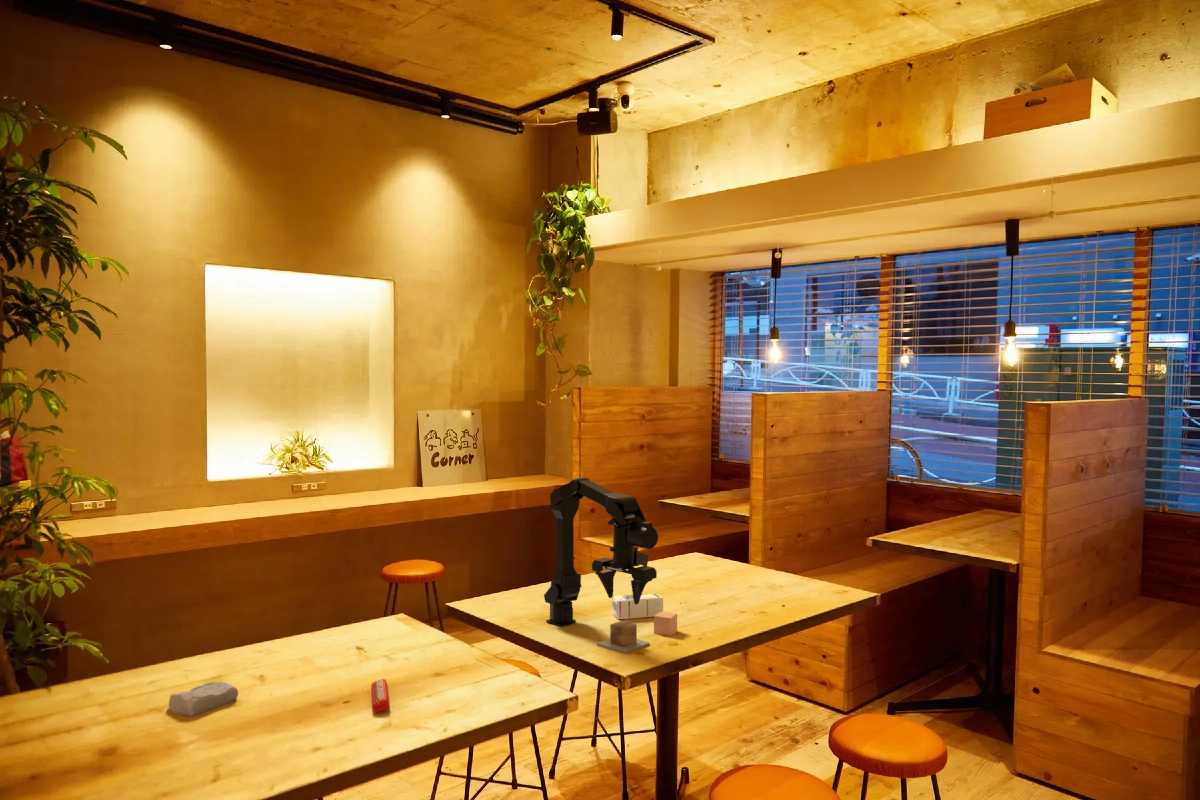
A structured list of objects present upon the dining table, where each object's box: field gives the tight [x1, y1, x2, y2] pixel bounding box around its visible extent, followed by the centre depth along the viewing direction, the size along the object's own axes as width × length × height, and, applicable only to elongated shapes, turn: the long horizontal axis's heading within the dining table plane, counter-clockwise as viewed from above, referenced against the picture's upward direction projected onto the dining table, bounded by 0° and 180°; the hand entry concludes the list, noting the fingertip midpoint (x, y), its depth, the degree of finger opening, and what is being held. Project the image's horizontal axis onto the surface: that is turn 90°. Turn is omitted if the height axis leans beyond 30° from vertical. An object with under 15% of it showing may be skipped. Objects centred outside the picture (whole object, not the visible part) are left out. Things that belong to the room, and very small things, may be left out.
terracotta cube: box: [653, 611, 678, 636], centre depth 231 cm, size 5×5×5 cm
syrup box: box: [611, 592, 664, 620], centre depth 247 cm, size 6×6×14 cm
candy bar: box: [370, 678, 391, 715], centre depth 181 cm, size 16×4×3 cm, turn 17°
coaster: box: [596, 638, 650, 655], centre depth 220 cm, size 10×10×1 cm
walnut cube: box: [609, 620, 638, 647], centre depth 220 cm, size 5×5×5 cm
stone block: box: [168, 681, 239, 718], centre depth 179 cm, size 12×5×10 cm
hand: (623, 600), depth 220 cm, fingers open, 9 cm apart
